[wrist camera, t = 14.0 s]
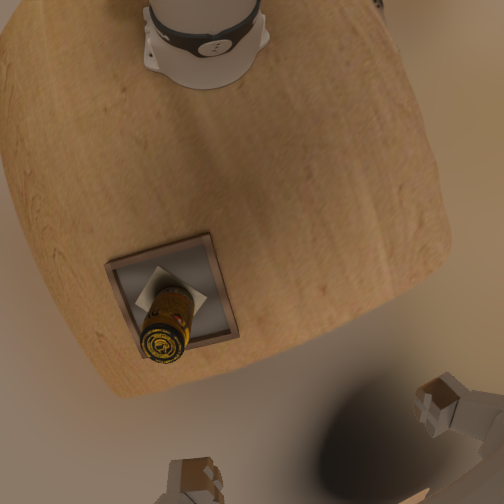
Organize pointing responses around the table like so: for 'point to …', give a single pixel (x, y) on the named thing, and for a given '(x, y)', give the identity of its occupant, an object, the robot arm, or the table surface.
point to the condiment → (167, 316)
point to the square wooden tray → (188, 271)
